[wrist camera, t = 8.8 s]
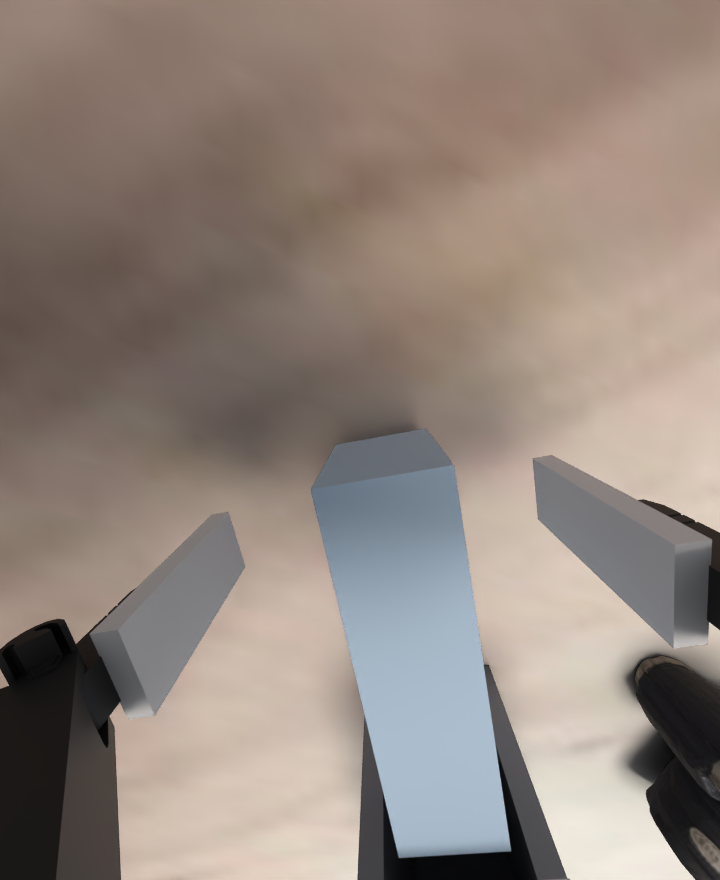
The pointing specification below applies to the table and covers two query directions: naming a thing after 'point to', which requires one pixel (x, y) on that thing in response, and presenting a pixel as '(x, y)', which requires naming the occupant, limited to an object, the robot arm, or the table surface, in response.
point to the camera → (685, 761)
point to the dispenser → (464, 875)
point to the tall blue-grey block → (414, 639)
